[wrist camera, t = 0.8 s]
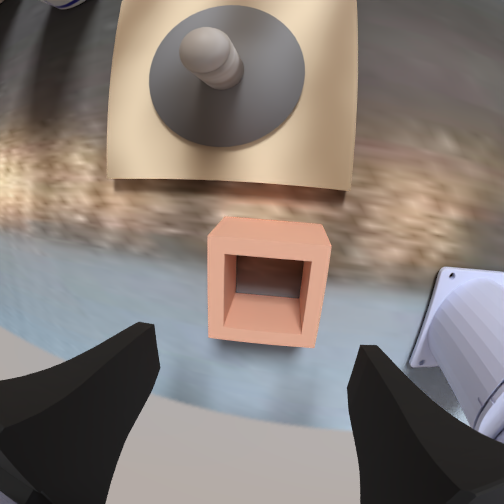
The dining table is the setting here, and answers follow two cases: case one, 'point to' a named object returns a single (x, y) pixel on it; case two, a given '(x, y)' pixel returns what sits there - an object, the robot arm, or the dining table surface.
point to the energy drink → (63, 3)
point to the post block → (235, 91)
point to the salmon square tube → (260, 306)
